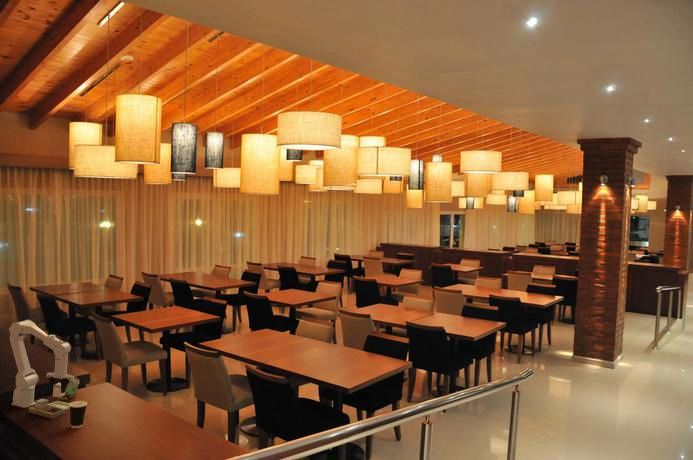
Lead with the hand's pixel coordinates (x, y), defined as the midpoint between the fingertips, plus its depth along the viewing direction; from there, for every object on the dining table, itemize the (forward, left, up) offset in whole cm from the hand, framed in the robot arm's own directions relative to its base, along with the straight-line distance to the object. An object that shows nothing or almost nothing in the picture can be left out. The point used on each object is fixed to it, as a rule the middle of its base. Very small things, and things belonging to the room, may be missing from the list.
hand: (59, 392), depth 271 cm
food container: (-7, +15, -9) cm, 19 cm away
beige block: (-3, -7, -9) cm, 12 cm away
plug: (0, 0, -2) cm, 2 cm away
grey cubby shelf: (+1, -7, -9) cm, 11 cm away
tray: (-1, +1, -9) cm, 9 cm away
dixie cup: (+24, -11, -9) cm, 28 cm away
